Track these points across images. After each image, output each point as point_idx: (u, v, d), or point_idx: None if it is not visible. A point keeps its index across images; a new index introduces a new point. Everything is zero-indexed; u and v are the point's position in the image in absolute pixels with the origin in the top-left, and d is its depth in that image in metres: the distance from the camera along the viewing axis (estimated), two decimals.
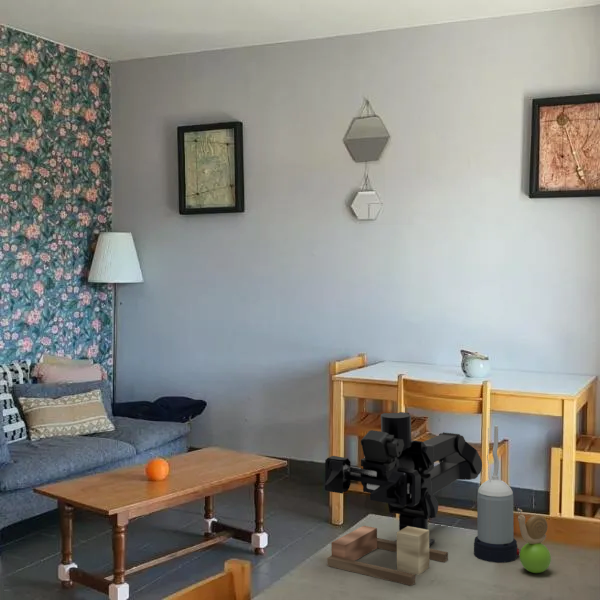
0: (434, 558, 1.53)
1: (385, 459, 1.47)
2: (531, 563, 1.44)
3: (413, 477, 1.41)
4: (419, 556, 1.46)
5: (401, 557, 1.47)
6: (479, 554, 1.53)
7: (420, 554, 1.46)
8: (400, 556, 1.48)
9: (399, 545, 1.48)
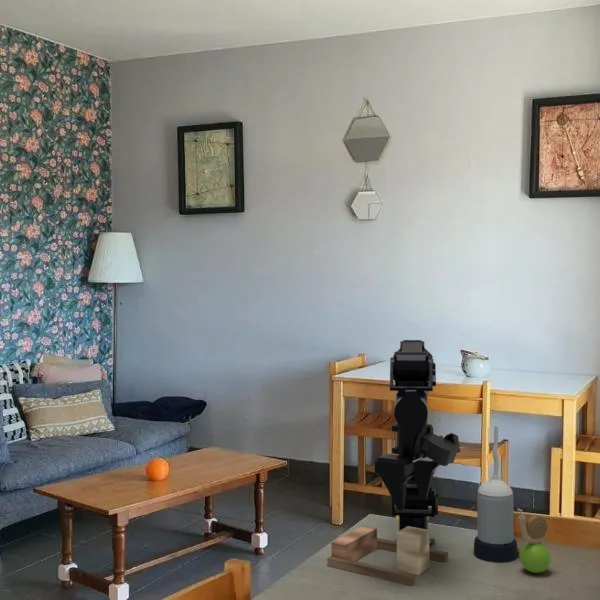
0: (434, 558, 1.53)
1: None
2: (531, 563, 1.44)
3: None
4: (419, 556, 1.46)
5: (401, 557, 1.47)
6: (479, 554, 1.53)
7: (420, 554, 1.46)
8: (400, 556, 1.48)
9: (399, 545, 1.48)
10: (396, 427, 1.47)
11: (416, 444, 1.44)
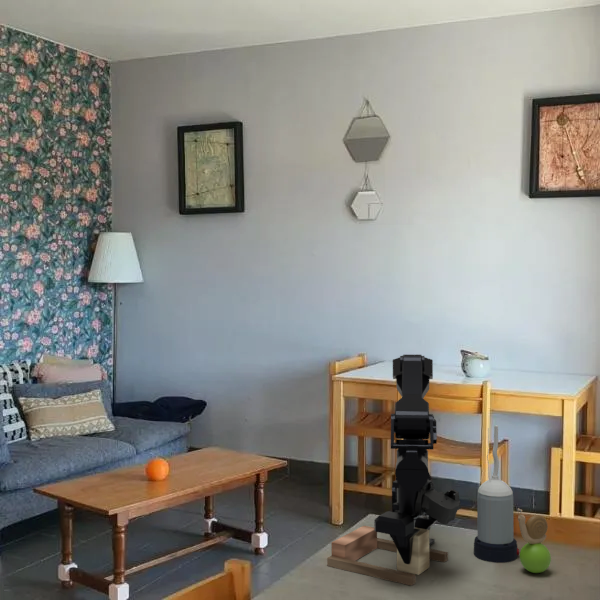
0: (434, 558, 1.53)
1: None
2: (531, 563, 1.44)
3: None
4: (419, 556, 1.46)
5: None
6: (479, 554, 1.53)
7: (420, 554, 1.46)
8: (400, 556, 1.48)
9: None
10: (397, 483, 1.47)
11: (417, 502, 1.44)
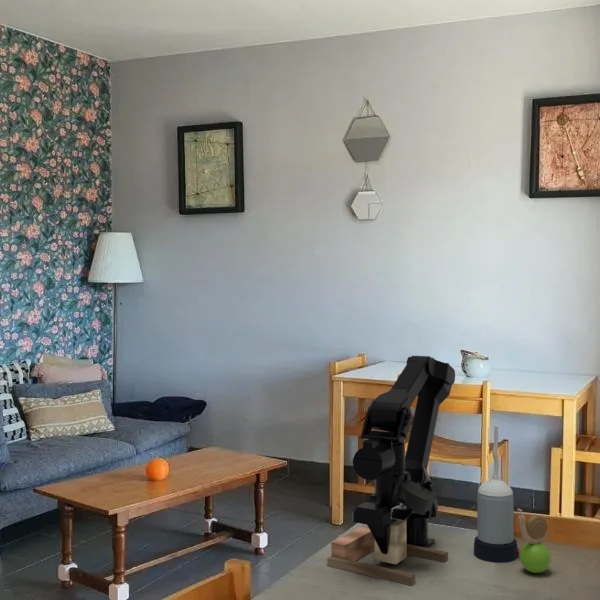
0: (434, 558, 1.53)
1: None
2: (531, 563, 1.44)
3: None
4: (397, 546, 1.49)
5: None
6: (479, 554, 1.53)
7: (397, 544, 1.49)
8: None
9: None
10: None
11: (394, 493, 1.47)
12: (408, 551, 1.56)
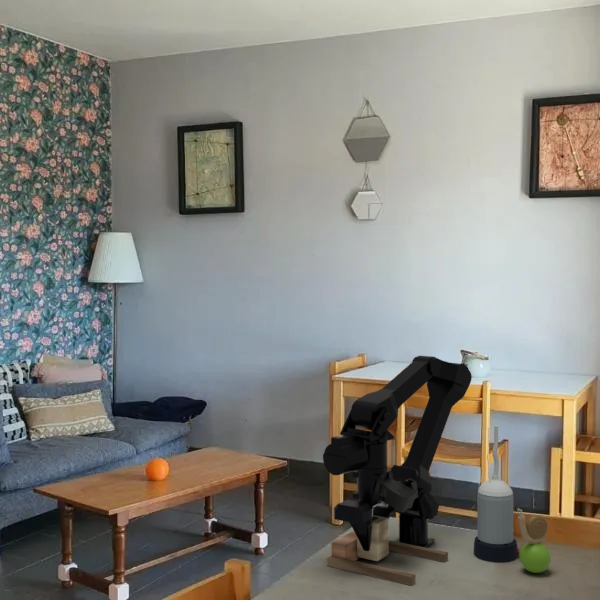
0: (434, 558, 1.53)
1: None
2: (531, 563, 1.44)
3: None
4: (378, 543, 1.51)
5: None
6: (479, 554, 1.53)
7: (378, 541, 1.51)
8: None
9: None
10: (356, 473, 1.52)
11: (375, 490, 1.49)
12: (408, 551, 1.56)
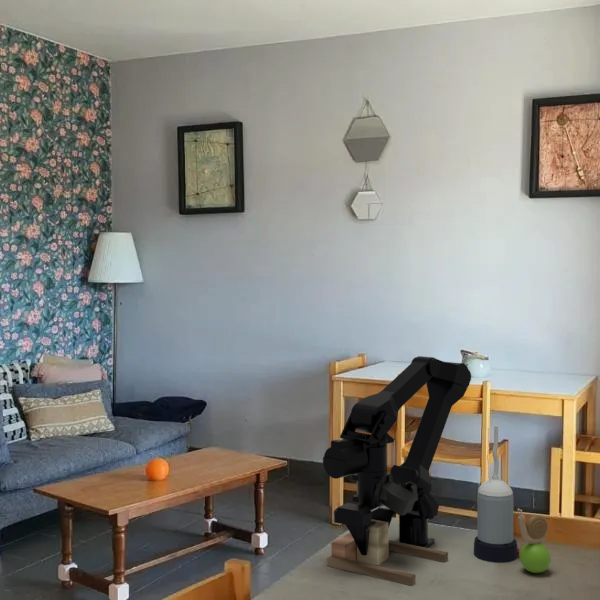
0: (434, 558, 1.53)
1: None
2: (531, 563, 1.44)
3: None
4: (378, 547, 1.51)
5: None
6: (479, 554, 1.53)
7: (378, 545, 1.51)
8: None
9: None
10: (356, 476, 1.52)
11: (375, 494, 1.49)
12: (408, 551, 1.56)
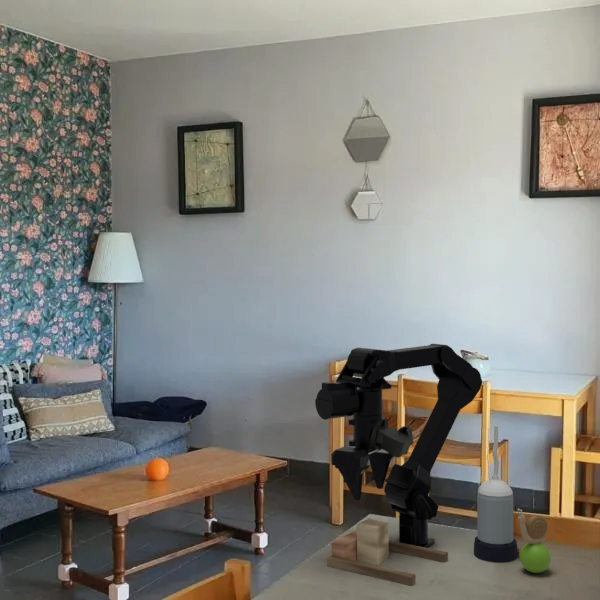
0: (434, 558, 1.53)
1: None
2: (531, 563, 1.44)
3: None
4: (378, 547, 1.51)
5: (361, 548, 1.52)
6: (479, 554, 1.53)
7: (378, 545, 1.51)
8: (360, 547, 1.52)
9: (359, 537, 1.53)
10: (353, 421, 1.54)
11: (371, 437, 1.51)
12: (408, 551, 1.56)
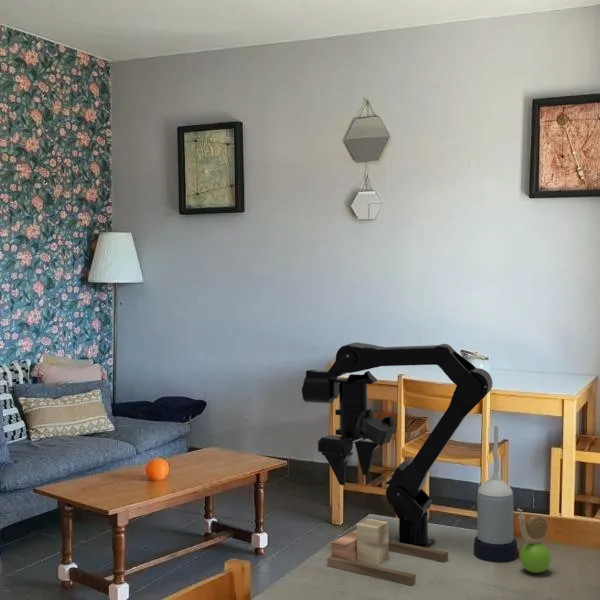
0: (434, 558, 1.53)
1: None
2: (531, 563, 1.44)
3: None
4: (378, 547, 1.51)
5: (361, 548, 1.52)
6: (479, 554, 1.53)
7: (378, 545, 1.51)
8: (360, 547, 1.52)
9: (359, 537, 1.53)
10: (339, 411, 1.65)
11: (356, 426, 1.62)
12: (408, 551, 1.56)
